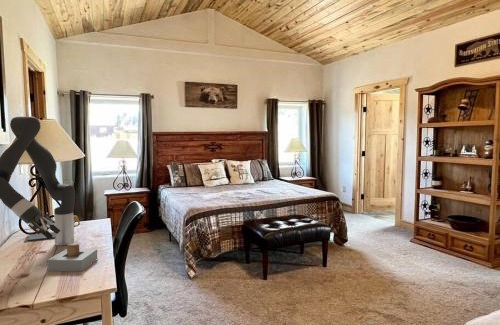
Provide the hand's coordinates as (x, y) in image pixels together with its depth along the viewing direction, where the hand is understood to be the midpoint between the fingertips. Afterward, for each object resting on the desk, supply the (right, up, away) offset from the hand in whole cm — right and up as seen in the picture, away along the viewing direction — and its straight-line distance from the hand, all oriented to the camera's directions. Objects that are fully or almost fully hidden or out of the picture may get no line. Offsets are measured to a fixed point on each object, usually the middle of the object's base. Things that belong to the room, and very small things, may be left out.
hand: (55, 234), depth 149 cm
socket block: (+7, -14, +2) cm, 16 cm away
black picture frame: (-33, -12, +45) cm, 58 cm away
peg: (+7, -14, +2) cm, 16 cm away
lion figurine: (-33, -10, +72) cm, 80 cm away
